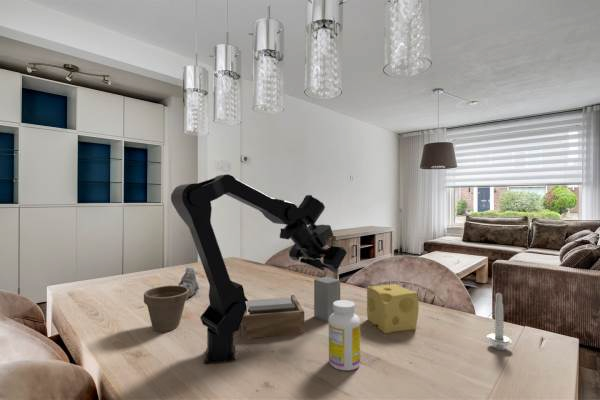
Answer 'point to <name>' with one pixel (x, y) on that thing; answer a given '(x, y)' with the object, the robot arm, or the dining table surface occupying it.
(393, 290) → the cheese
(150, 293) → the flower pot
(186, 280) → the mineral rock
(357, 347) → the supplement bottle
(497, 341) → the screw
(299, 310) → the trap frame
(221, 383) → the dining table surface
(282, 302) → the trapdoor
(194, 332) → the dining table surface
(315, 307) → the grey rectangular block
